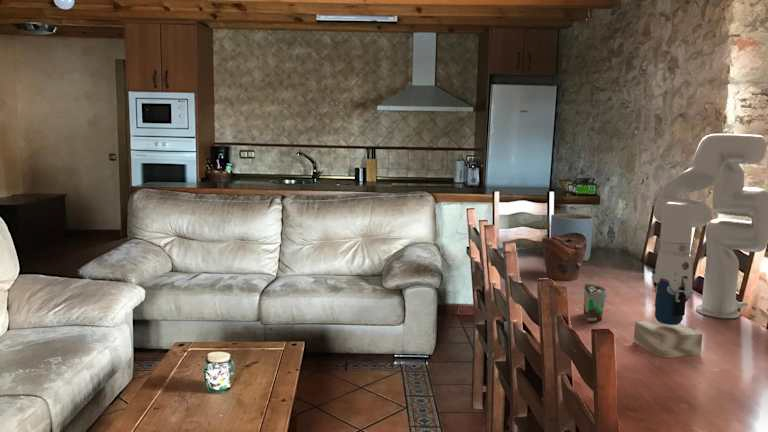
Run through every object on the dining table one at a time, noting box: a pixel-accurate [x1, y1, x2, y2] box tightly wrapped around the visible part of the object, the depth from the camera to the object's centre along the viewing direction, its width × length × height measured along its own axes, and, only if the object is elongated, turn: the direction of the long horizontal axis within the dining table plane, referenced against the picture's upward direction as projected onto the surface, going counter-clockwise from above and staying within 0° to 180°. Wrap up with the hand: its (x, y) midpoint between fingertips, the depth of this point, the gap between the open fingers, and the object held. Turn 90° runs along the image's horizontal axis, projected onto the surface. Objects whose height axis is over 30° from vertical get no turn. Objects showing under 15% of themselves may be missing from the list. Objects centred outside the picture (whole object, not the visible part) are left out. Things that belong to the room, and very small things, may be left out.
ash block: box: [633, 320, 703, 359], centre depth 163 cm, size 12×12×6 cm
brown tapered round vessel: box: [540, 233, 587, 281], centre depth 242 cm, size 18×20×18 cm
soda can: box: [654, 278, 684, 325], centre depth 162 cm, size 7×7×12 cm
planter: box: [550, 213, 595, 262], centre depth 279 cm, size 19×19×20 cm
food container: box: [582, 283, 608, 324], centre depth 188 cm, size 12×6×10 cm, turn 168°
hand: (669, 310), depth 162 cm, fingers closed on soda can, 6 cm apart
